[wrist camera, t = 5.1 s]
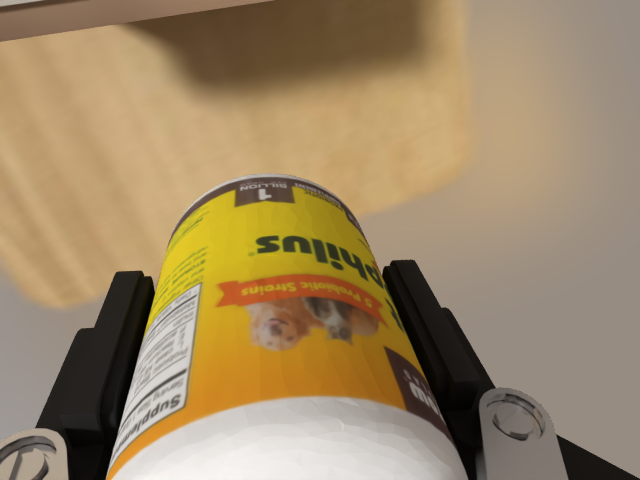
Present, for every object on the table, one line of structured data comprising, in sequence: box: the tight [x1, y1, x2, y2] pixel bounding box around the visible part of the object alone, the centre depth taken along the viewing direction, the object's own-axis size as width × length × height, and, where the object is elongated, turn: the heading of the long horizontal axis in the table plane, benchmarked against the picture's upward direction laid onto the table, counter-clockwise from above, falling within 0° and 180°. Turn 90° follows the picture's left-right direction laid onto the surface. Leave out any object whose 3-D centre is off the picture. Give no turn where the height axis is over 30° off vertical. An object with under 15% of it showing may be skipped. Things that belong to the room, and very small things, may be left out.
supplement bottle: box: [106, 174, 468, 480], centre depth 9 cm, size 6×6×10 cm
